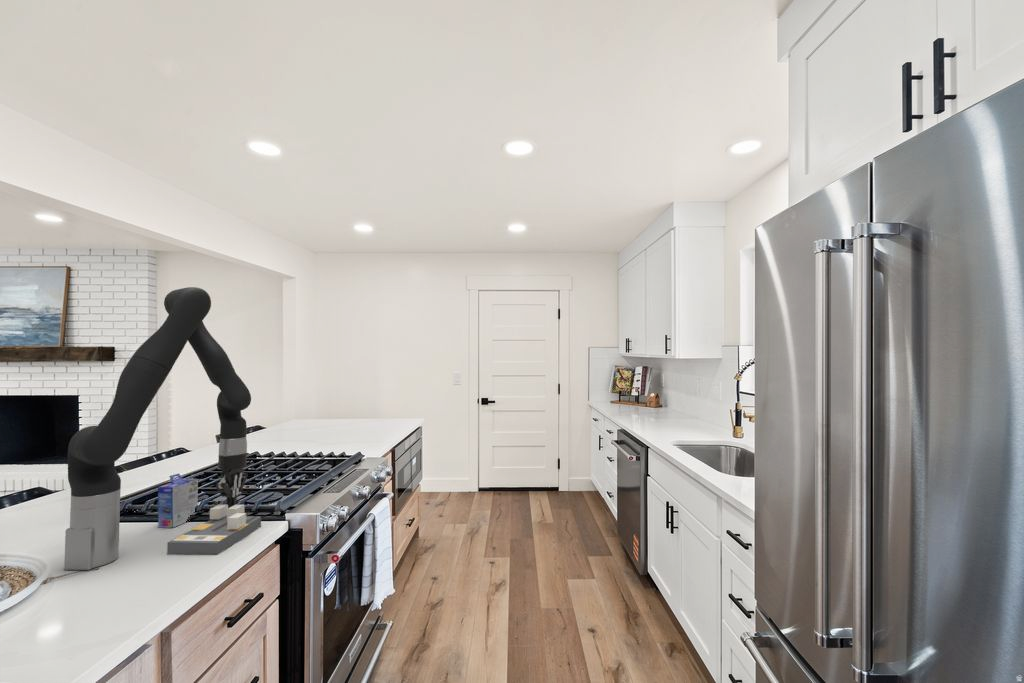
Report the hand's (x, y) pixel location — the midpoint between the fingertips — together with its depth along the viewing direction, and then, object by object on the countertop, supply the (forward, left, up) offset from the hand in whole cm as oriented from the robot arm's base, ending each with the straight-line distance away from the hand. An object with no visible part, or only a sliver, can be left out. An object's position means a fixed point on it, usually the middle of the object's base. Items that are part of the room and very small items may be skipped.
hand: (231, 508), depth 144 cm
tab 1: (-6, 0, -1) cm, 6 cm away
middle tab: (-6, -5, -1) cm, 8 cm away
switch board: (-14, -5, -4) cm, 16 cm away
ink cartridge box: (-1, +16, -4) cm, 16 cm away
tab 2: (-14, -10, -1) cm, 17 cm away
